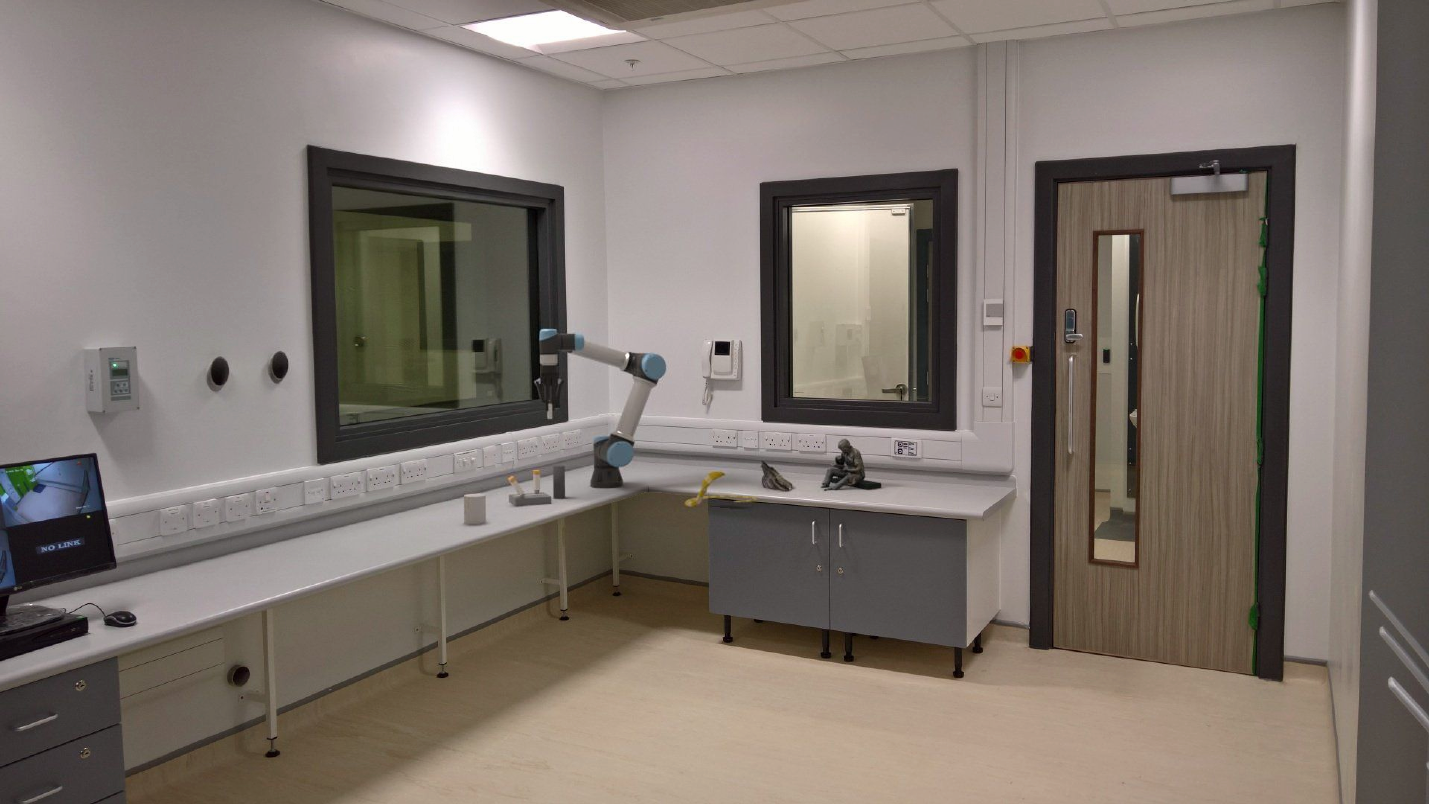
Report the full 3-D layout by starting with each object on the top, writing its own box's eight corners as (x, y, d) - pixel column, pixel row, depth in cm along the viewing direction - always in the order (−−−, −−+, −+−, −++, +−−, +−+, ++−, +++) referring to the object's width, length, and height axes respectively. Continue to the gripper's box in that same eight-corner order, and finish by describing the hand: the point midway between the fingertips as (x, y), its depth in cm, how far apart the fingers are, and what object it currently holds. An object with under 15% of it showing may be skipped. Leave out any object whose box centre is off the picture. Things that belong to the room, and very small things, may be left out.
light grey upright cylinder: (466, 524, 391) (465, 493, 390) (487, 524, 391) (486, 493, 391) (462, 528, 383) (462, 497, 382) (484, 527, 383) (484, 496, 383)
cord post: (563, 497, 438) (563, 465, 437) (566, 499, 433) (565, 466, 432) (552, 498, 436) (551, 466, 435) (555, 499, 431) (554, 467, 431)
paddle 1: (524, 494, 421) (511, 475, 419) (526, 495, 417) (513, 477, 415) (520, 497, 421) (507, 478, 418) (522, 498, 417) (509, 480, 414)
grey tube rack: (543, 499, 433) (543, 491, 433) (551, 503, 421) (551, 495, 421) (509, 501, 427) (508, 493, 427) (515, 506, 415) (515, 498, 415)
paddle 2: (538, 491, 432) (537, 469, 431) (540, 493, 428) (540, 471, 427) (533, 492, 431) (532, 470, 430) (535, 493, 427) (535, 471, 426)
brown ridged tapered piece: (751, 455, 443) (764, 460, 470) (738, 471, 444) (753, 476, 470) (790, 484, 437) (802, 489, 463) (778, 501, 437) (790, 505, 464)
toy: (741, 511, 399) (740, 474, 398) (676, 508, 408) (676, 472, 407) (761, 500, 427) (761, 465, 426) (700, 497, 435) (700, 463, 434)
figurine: (803, 491, 451) (803, 438, 450) (844, 486, 465) (844, 435, 463) (839, 497, 431) (839, 442, 429) (881, 492, 444) (881, 439, 443)
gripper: (561, 364, 442) (562, 417, 443) (532, 364, 437) (533, 418, 438) (565, 364, 435) (566, 418, 436) (536, 365, 430) (537, 419, 431)
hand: (549, 418), depth 437 cm, fingers closed
